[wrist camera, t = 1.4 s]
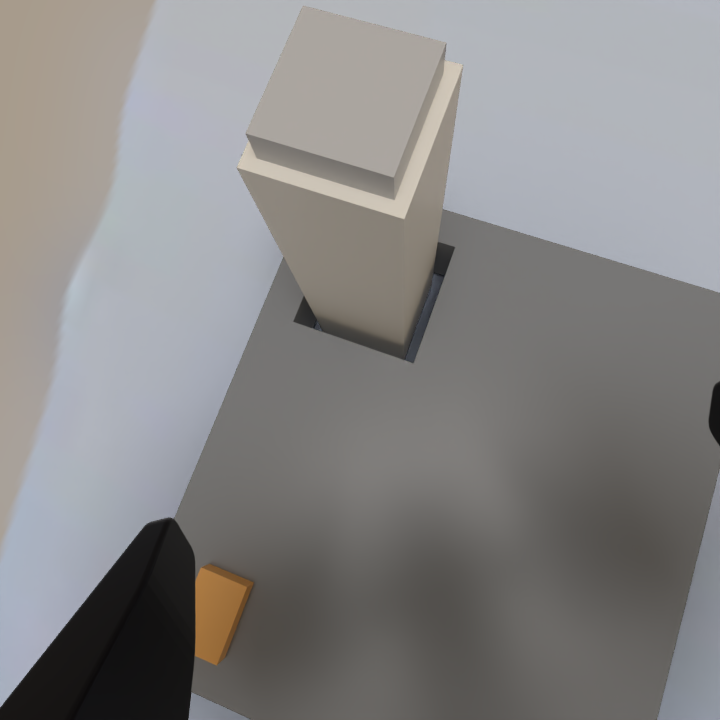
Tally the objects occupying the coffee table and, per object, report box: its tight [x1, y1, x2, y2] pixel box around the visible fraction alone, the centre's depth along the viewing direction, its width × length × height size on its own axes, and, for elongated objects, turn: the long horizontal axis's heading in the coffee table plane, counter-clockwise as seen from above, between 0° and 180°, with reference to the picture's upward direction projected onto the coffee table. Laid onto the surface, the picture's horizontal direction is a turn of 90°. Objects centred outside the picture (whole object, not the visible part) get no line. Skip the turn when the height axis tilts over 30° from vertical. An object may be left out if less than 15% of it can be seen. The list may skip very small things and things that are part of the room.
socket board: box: [174, 209, 720, 720], centre depth 20 cm, size 18×16×4 cm
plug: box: [237, 6, 463, 360], centre depth 17 cm, size 3×3×13 cm
